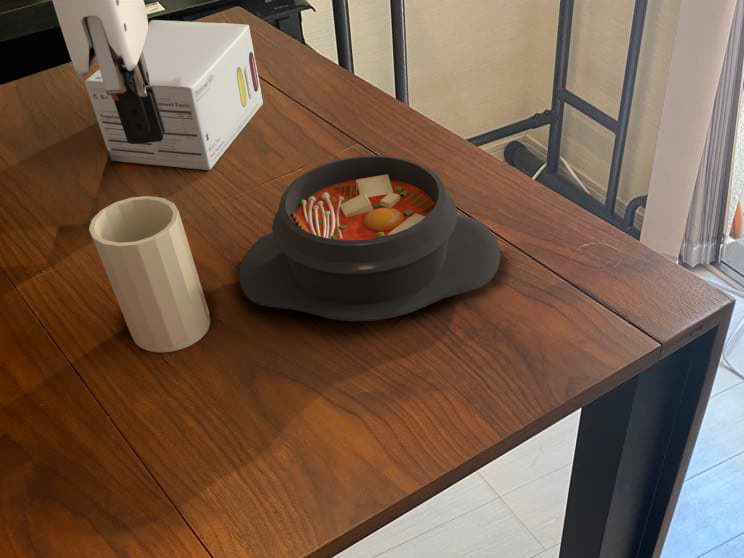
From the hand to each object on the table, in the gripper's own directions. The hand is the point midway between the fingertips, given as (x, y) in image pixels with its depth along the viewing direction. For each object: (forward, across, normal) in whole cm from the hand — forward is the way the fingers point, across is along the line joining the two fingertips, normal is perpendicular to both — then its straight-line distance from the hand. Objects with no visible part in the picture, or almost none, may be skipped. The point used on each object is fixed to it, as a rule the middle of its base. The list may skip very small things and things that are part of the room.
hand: (147, 137), depth 75 cm
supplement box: (+13, -27, -2) cm, 30 cm away
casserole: (+13, +6, +19) cm, 23 cm away
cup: (+12, +11, 0) cm, 17 cm away
